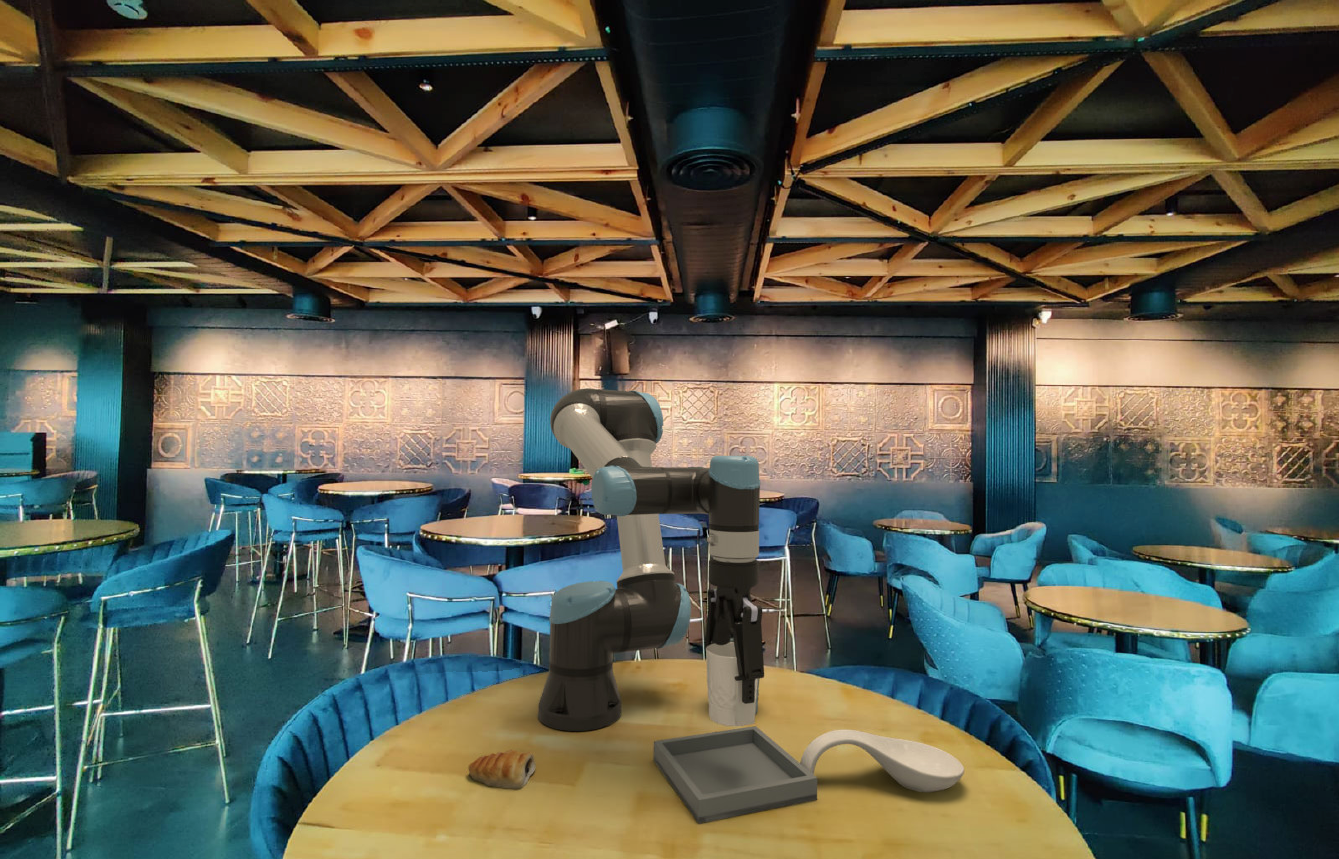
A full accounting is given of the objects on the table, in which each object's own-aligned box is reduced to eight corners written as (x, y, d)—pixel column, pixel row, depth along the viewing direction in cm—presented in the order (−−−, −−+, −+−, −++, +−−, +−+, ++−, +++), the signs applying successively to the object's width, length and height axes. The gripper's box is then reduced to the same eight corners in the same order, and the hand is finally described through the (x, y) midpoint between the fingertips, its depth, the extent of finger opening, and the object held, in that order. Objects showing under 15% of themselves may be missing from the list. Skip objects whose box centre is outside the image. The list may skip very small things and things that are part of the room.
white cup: (757, 709, 98) (758, 643, 98) (759, 730, 90) (760, 658, 90) (706, 706, 98) (707, 640, 99) (704, 727, 91) (704, 656, 91)
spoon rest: (940, 763, 100) (940, 717, 101) (980, 804, 89) (980, 751, 89) (792, 764, 99) (793, 718, 100) (814, 806, 87) (814, 753, 88)
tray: (653, 760, 99) (653, 741, 99) (755, 744, 105) (755, 726, 105) (698, 823, 82) (699, 800, 82) (817, 799, 88) (817, 778, 89)
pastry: (459, 787, 91) (460, 760, 91) (479, 765, 97) (480, 739, 98) (523, 792, 89) (524, 765, 90) (538, 769, 96) (539, 744, 96)
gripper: (685, 549, 103) (683, 692, 102) (742, 570, 84) (740, 746, 83) (726, 548, 106) (725, 687, 105) (791, 568, 87) (790, 738, 86)
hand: (732, 713), depth 94 cm, fingers closed on white cup, 7 cm apart
